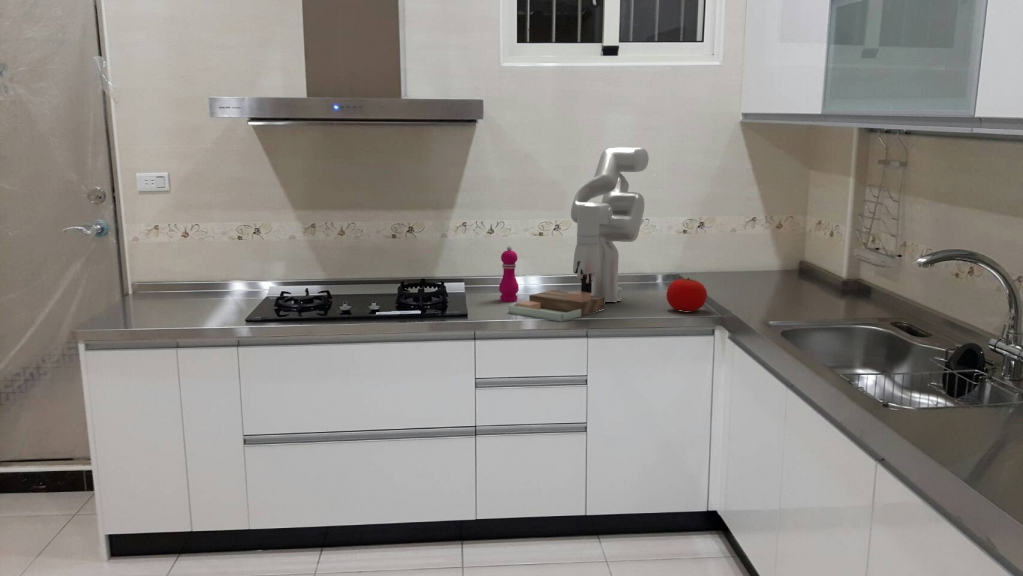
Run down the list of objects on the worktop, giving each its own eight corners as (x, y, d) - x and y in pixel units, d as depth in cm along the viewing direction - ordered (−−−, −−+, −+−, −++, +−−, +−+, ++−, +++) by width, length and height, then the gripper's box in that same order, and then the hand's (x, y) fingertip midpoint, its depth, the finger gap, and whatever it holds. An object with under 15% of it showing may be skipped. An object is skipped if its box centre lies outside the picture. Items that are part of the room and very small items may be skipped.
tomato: (662, 307, 284) (664, 274, 282) (700, 307, 284) (702, 275, 282) (670, 314, 271) (671, 280, 269) (710, 315, 271) (712, 281, 269)
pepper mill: (495, 301, 291) (495, 246, 288) (504, 298, 297) (505, 244, 294) (512, 303, 288) (513, 247, 284) (521, 299, 294) (522, 245, 291)
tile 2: (576, 297, 275) (576, 290, 274) (590, 299, 271) (591, 292, 271) (566, 300, 270) (566, 292, 270) (581, 302, 267) (581, 295, 266)
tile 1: (515, 302, 272) (515, 310, 272) (529, 305, 268) (529, 312, 268) (526, 300, 276) (526, 307, 277) (540, 302, 273) (540, 309, 273)
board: (552, 302, 290) (552, 290, 290) (604, 310, 277) (604, 297, 276) (529, 307, 279) (529, 295, 279) (581, 316, 266) (582, 303, 265)
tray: (528, 308, 279) (528, 301, 279) (581, 316, 266) (581, 309, 265) (508, 312, 271) (508, 305, 270) (562, 321, 257) (562, 314, 257)
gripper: (590, 238, 279) (588, 290, 282) (566, 241, 267) (564, 295, 270) (609, 240, 274) (607, 292, 277) (585, 243, 263) (583, 298, 266)
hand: (586, 293), depth 274 cm, fingers closed
